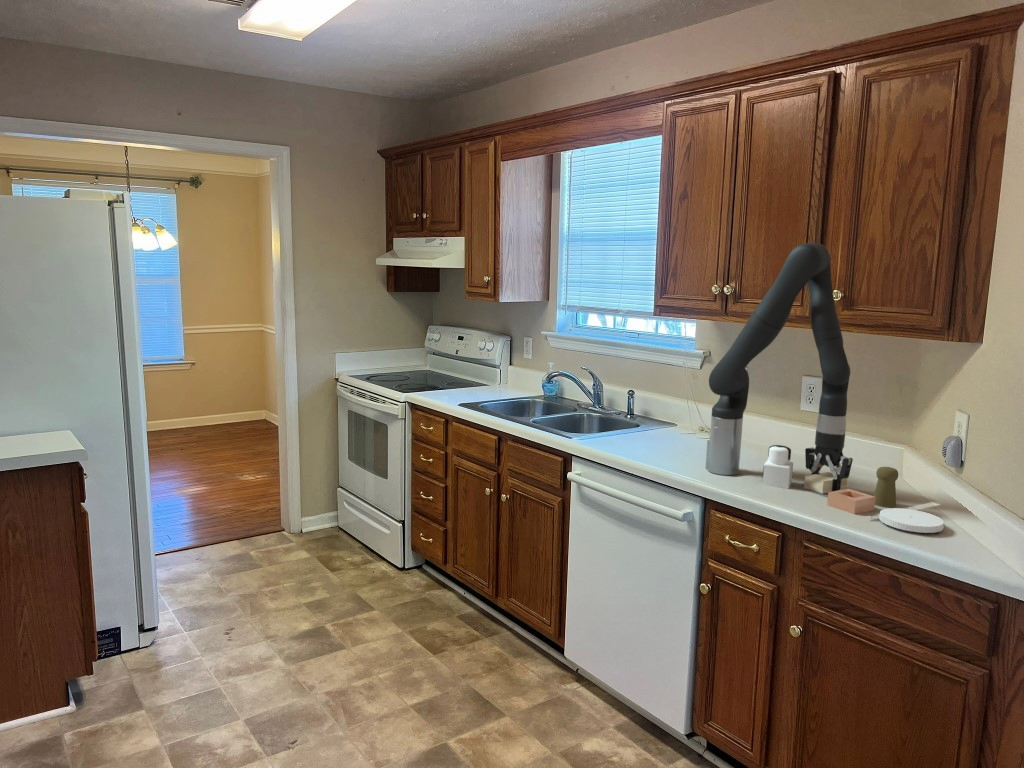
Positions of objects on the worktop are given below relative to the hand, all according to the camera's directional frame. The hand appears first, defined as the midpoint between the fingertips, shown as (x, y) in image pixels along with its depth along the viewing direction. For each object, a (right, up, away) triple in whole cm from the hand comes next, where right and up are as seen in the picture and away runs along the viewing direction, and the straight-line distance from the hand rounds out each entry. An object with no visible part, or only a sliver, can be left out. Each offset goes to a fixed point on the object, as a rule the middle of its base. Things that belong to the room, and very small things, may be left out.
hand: (825, 488), depth 210 cm
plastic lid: (+10, -6, -26) cm, 28 cm away
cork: (+10, -4, -12) cm, 16 cm away
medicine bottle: (-12, 0, +5) cm, 13 cm away
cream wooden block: (0, 0, 0) cm, 0 cm away
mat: (0, -1, 0) cm, 1 cm away
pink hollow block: (0, -4, -16) cm, 16 cm away
